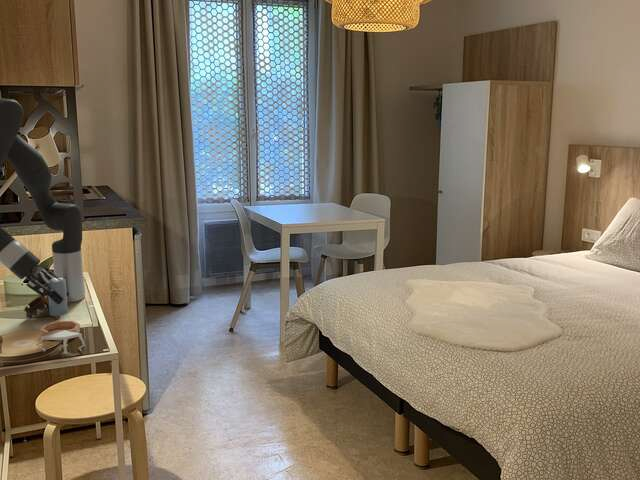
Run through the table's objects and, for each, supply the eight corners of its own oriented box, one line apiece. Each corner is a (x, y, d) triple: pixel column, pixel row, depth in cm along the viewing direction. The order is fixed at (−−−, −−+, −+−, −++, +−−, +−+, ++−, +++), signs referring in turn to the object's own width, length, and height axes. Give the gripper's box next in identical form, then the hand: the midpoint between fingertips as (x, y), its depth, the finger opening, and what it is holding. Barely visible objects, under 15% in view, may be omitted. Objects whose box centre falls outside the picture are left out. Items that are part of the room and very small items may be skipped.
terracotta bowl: (49, 328, 197) (48, 320, 196) (83, 328, 198) (82, 320, 197) (37, 341, 187) (37, 333, 187) (73, 340, 188) (72, 332, 188)
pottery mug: (56, 325, 202) (40, 304, 198) (32, 335, 204) (15, 316, 201) (71, 303, 212) (55, 284, 209) (48, 313, 215) (32, 294, 211)
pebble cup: (52, 310, 193) (50, 276, 191) (70, 310, 193) (67, 276, 191) (47, 316, 188) (44, 280, 186) (64, 316, 189) (62, 280, 186)
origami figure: (80, 342, 188) (79, 325, 186) (85, 352, 180) (84, 335, 179) (35, 349, 182) (33, 332, 181) (39, 360, 175) (37, 343, 174)
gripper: (18, 256, 179) (65, 297, 183) (36, 244, 193) (80, 283, 197) (-1, 275, 180) (47, 315, 183) (18, 262, 194) (63, 300, 197)
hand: (64, 298), depth 190 cm, fingers closed on pebble cup, 5 cm apart
